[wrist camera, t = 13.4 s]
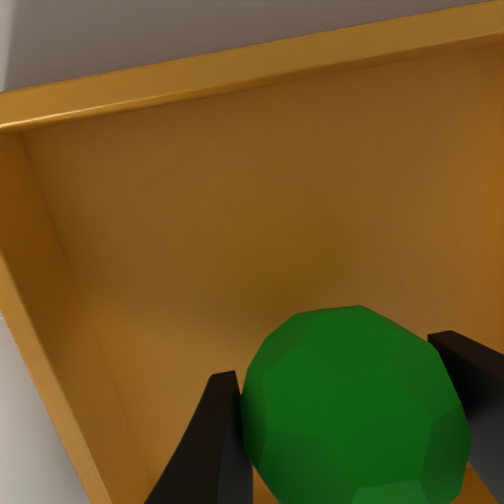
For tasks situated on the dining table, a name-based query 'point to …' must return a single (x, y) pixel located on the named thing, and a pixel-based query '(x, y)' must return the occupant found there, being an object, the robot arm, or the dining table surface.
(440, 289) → the tray
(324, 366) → the polyhedron
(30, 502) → the dining table surface
